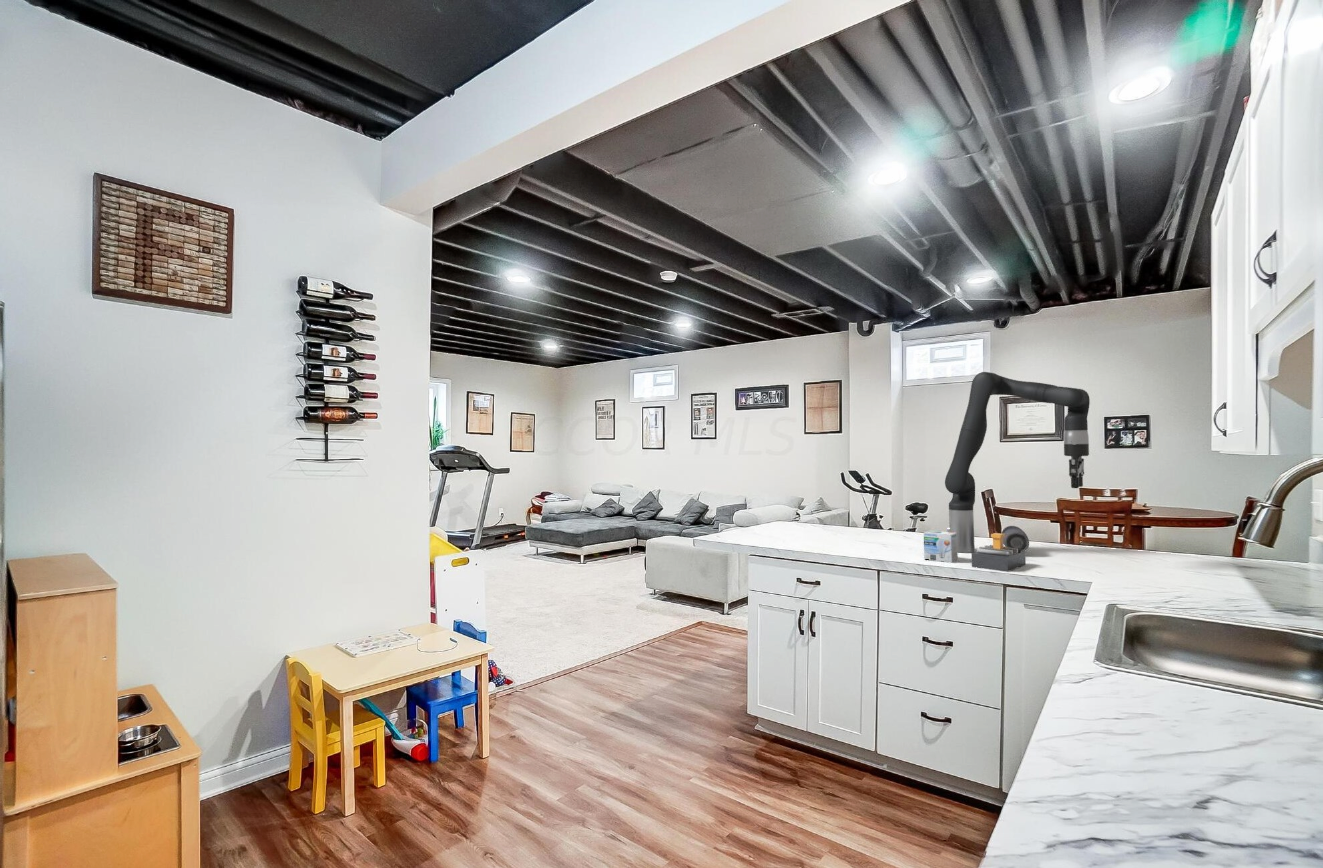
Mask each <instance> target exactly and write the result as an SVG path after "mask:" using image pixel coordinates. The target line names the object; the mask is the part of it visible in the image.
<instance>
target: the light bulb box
mask: <svg viewBox="0 0 1323 868" xmlns="http://www.w3.org/2000/svg"><path fill="white" fill-rule="evenodd" d="M958 555H959V552H957V533H955V532H947V531H938V530H926V531H924V532H923V560H924V559H929V560H928V561H932V560H934V561H935V562H941V561H944V562H943V563H949V562H950V564H952V563H954V561H955V562H957V561H959V558H958V557H959V556H958ZM934 561H933V562H934Z"/></svg>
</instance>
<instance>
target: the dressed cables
mask: <svg viewBox="0 0 1323 868" xmlns="http://www.w3.org/2000/svg"><path fill="white" fill-rule="evenodd" d="M989 546H993V544H990V545H989ZM1003 547H1005V545H1003ZM1005 548H1014V547H1005ZM1015 549H1018V552H1021V549H1020V548H1015ZM976 552H978V553H987V554H996V555H1005V556H1009V555H1010V553H1009V552H1006V551H996V550H987V549H979V548H976Z"/></svg>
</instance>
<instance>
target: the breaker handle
mask: <svg viewBox="0 0 1323 868" xmlns="http://www.w3.org/2000/svg"><path fill="white" fill-rule="evenodd" d="M1001 533H1002V532H1001ZM1001 533H999V532H998V533H997V532H994V533H991V534H990V538H992V545H993V548H995V549H1004V548H1003V546H1004V544H1003V538H1004V537H1005V534H1001Z"/></svg>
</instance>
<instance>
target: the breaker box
mask: <svg viewBox="0 0 1323 868" xmlns="http://www.w3.org/2000/svg"><path fill="white" fill-rule="evenodd" d="M1003 548H1004V549H995V548H993V546H990V545H984V547H983V546H979V547H978V549H987V550H996V551H1006V552H1009V553H1010V555H1009V556H1005V555H996V554H987V553H978V552H977V551H974V552H970V553H971V567H972V568H976V567H977V568H976V569H984V570H991V571H1001V572H1010V571H1013V570H1016V569H1018V568H1021V567H1024V566H1026V564H1027V563H1026V551H1021V552H1018V549H1015V548H1005V546H1004V547H1003Z"/></svg>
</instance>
